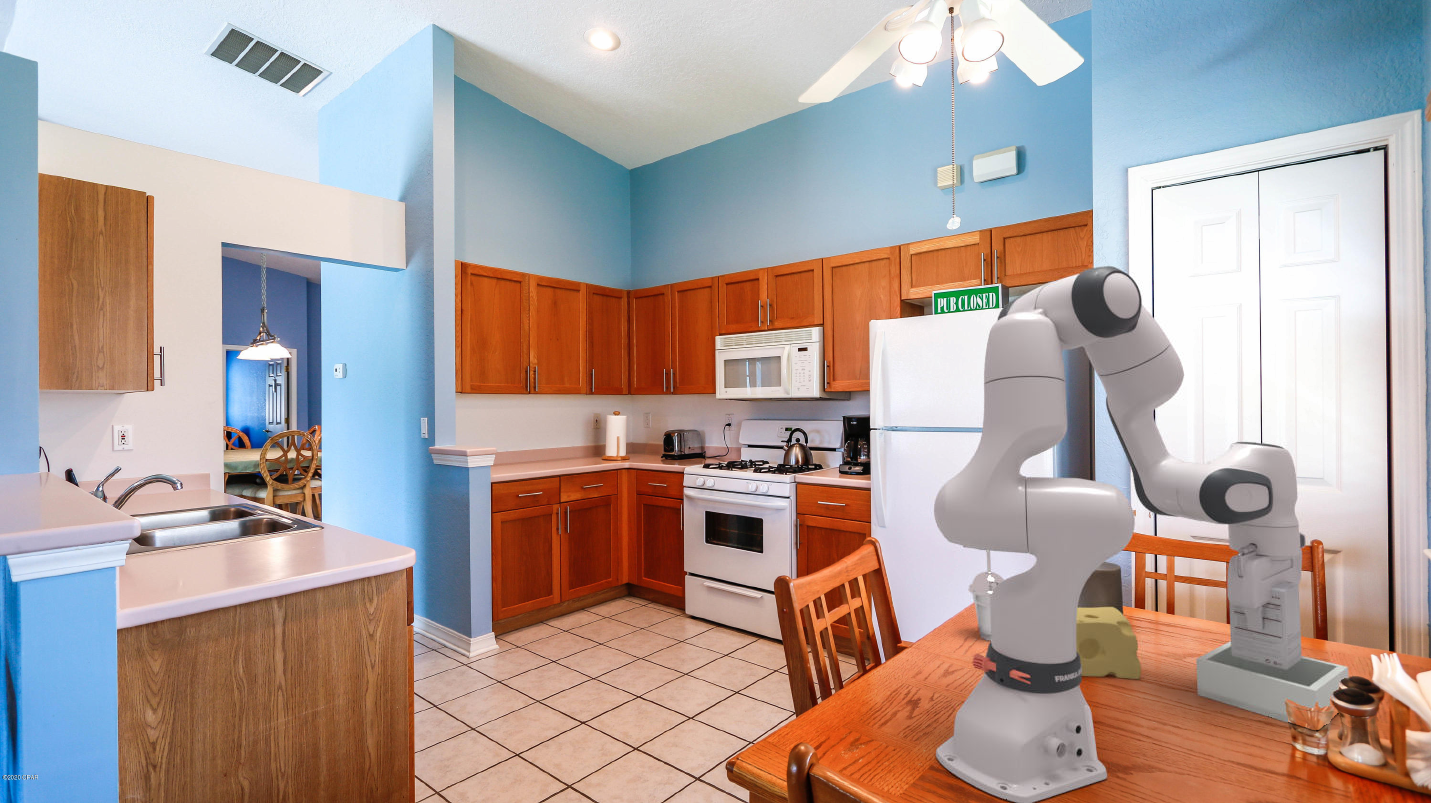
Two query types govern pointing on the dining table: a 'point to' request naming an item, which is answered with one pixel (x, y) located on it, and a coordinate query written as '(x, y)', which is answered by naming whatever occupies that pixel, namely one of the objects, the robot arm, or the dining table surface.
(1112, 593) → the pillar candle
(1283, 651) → the supplement box
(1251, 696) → the box
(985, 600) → the cup with straw
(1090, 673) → the cheese
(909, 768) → the dining table surface
